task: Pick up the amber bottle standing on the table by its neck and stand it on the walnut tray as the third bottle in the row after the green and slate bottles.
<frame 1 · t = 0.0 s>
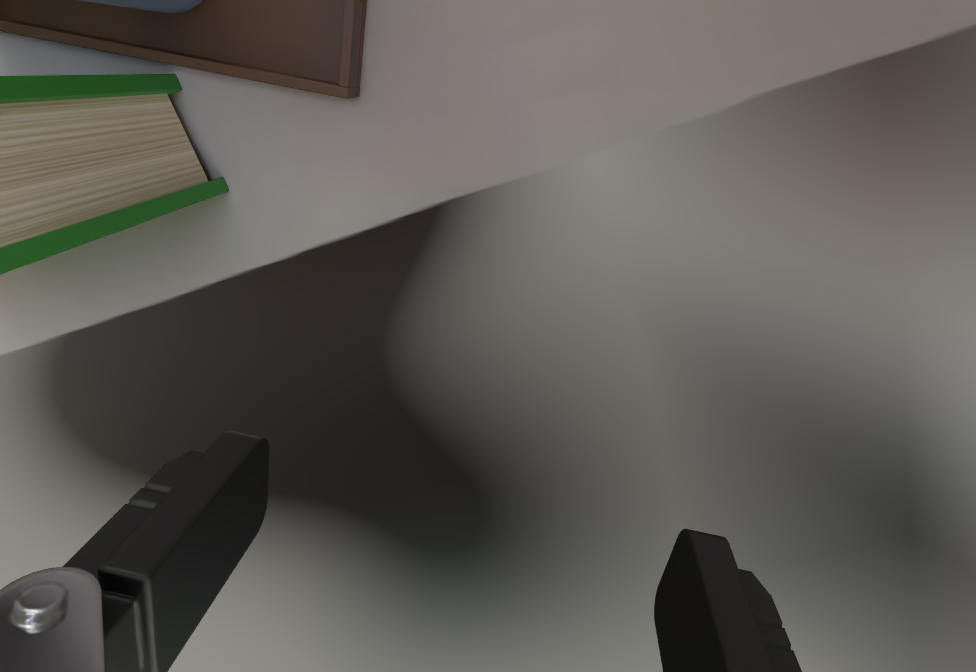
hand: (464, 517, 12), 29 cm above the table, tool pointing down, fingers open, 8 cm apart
hardback book: (93, 174, 41), on the table
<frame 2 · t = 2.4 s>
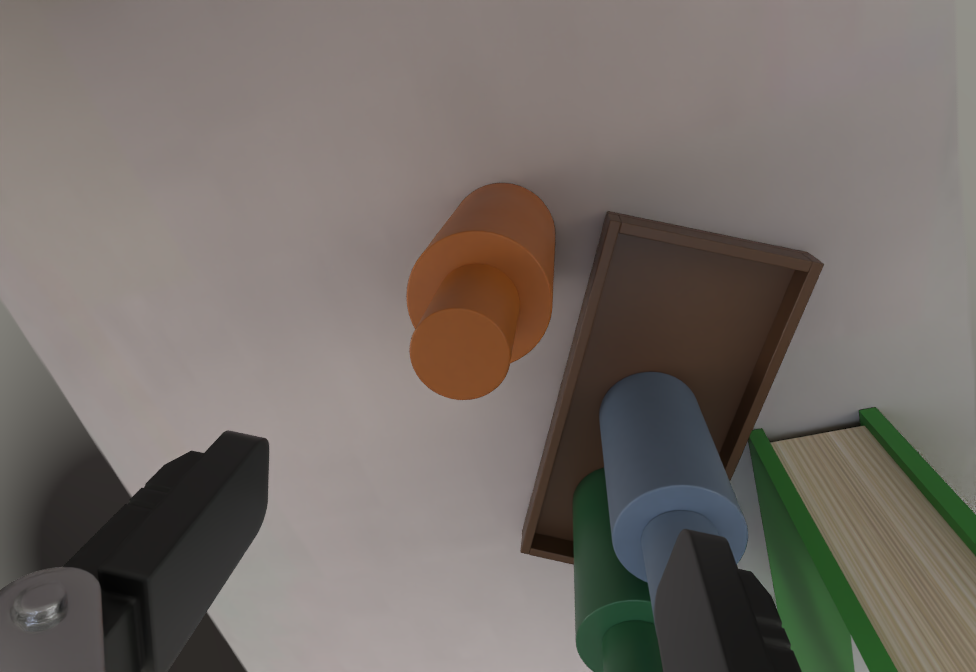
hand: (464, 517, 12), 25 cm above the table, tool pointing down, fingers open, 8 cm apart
green bottle: (617, 502, 40), point 1 cm above the table, touching tray
slate bottle: (648, 414, 38), point 1 cm above the table, touching tray
tray: (646, 409, 38), on the table
hardback book: (822, 529, 40), on the table
amber bottle: (502, 236, 35), on the table
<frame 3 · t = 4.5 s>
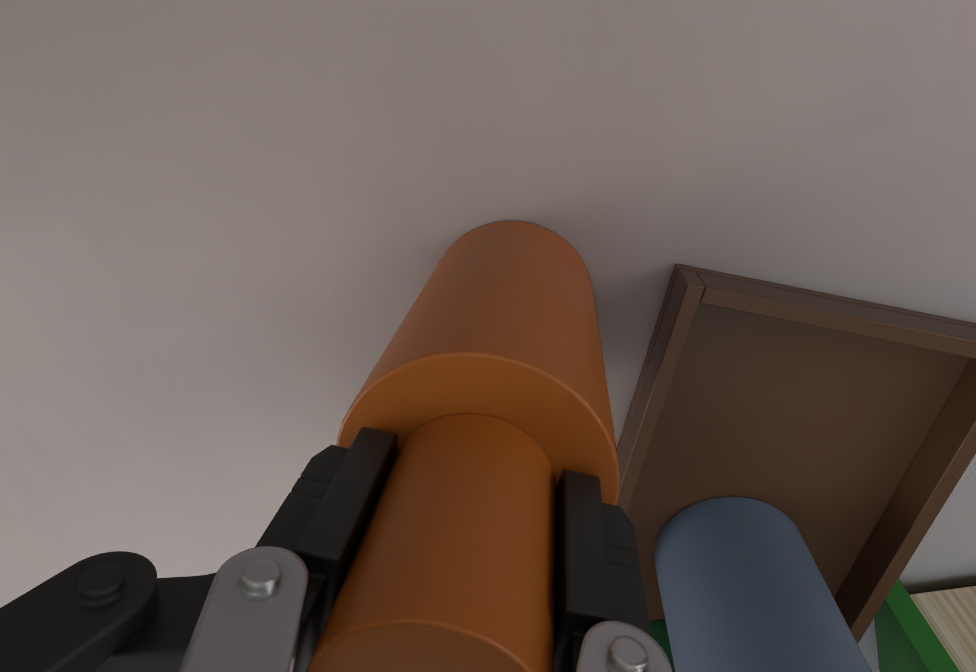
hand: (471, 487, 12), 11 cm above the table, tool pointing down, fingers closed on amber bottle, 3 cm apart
green bottle: (676, 664, 28), point 1 cm above the table, touching tray
slate bottle: (726, 553, 26), point 1 cm above the table, touching tray
tray: (723, 543, 26), on the table
amber bottle: (511, 299, 23), on the table, touching gripper
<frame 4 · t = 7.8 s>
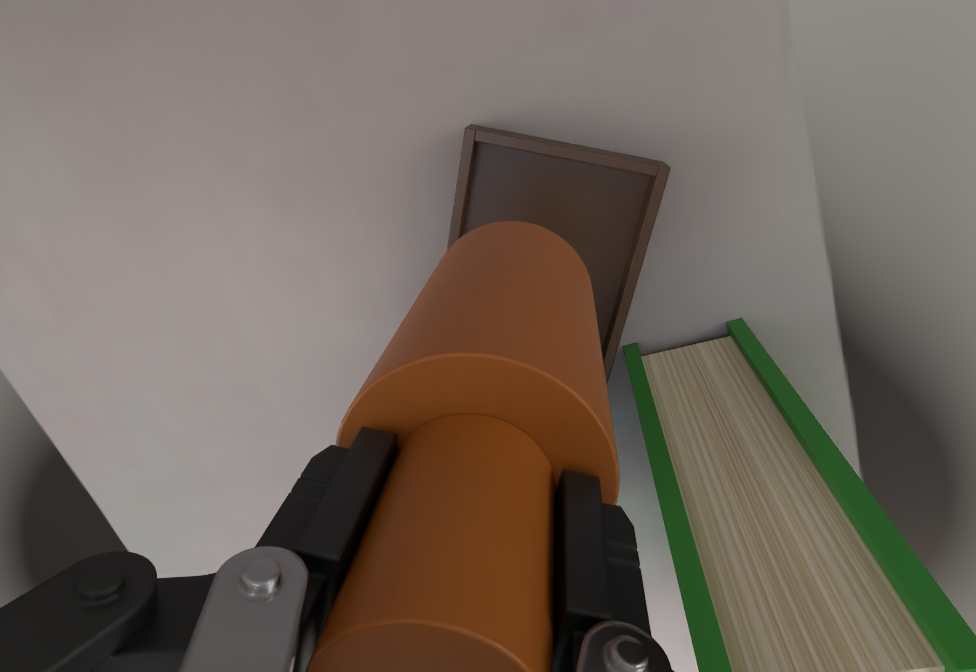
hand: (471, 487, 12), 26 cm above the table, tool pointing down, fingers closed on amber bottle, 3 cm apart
tray: (526, 326, 39), on the table
hardback book: (704, 445, 42), on the table
amber bottle: (511, 299, 23), point 15 cm above the table, touching gripper
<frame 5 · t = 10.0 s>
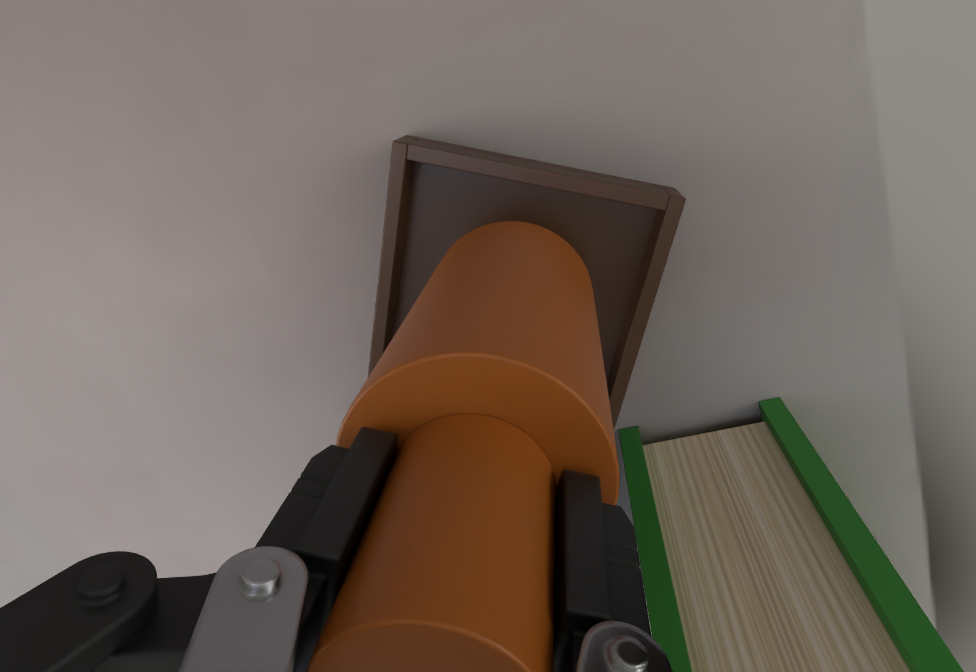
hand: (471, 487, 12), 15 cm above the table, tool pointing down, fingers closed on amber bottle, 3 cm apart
tray: (490, 403, 29), on the table
hardback book: (725, 553, 32), on the table
amber bottle: (511, 300, 23), point 4 cm above the table, touching gripper
when the fingers open (12 cm above the table, at t = 11.4 s): amber bottle stays where it is, resting on tray.
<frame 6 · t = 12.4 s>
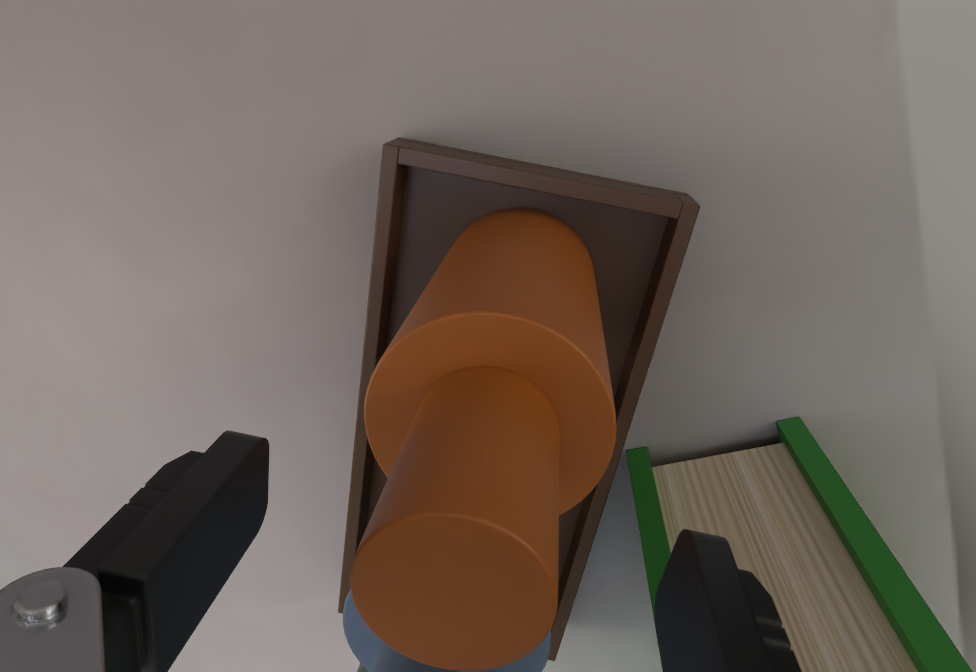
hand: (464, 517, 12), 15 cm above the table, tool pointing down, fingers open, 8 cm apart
slate bottle: (488, 428, 27), point 1 cm above the table, touching tray
tray: (489, 421, 28), on the table
hardback book: (740, 579, 30), on the table
amber bottle: (518, 282, 24), point 1 cm above the table, touching tray
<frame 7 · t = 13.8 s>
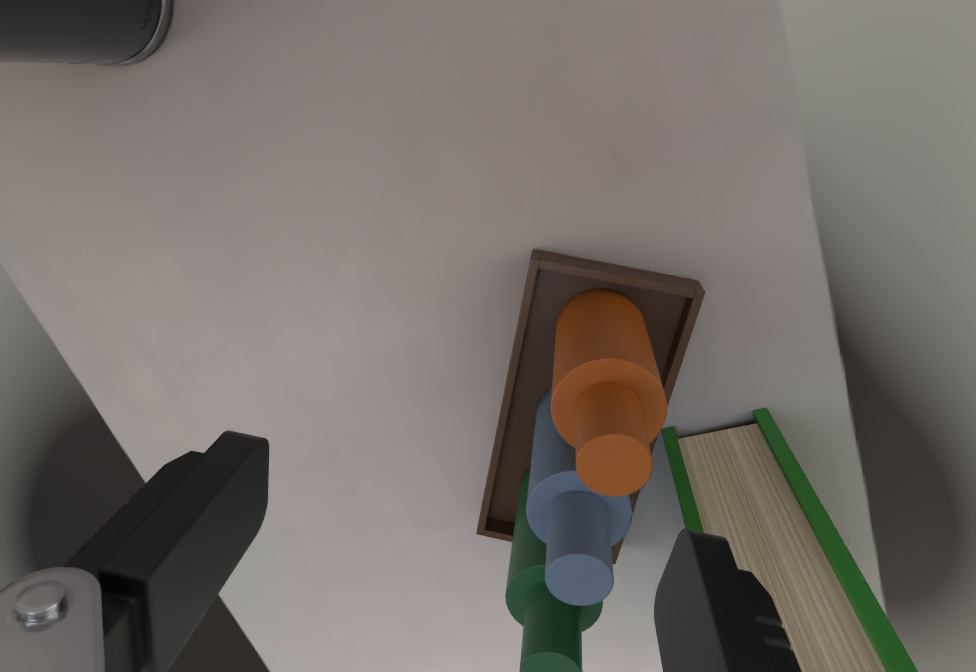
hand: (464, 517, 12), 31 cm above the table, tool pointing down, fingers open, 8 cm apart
green bottle: (557, 490, 48), point 1 cm above the table, touching tray
slate bottle: (577, 415, 45), point 1 cm above the table, touching tray
tray: (577, 411, 45), on the table
hardback book: (733, 512, 47), on the table
amber bottle: (599, 329, 42), point 1 cm above the table, touching tray
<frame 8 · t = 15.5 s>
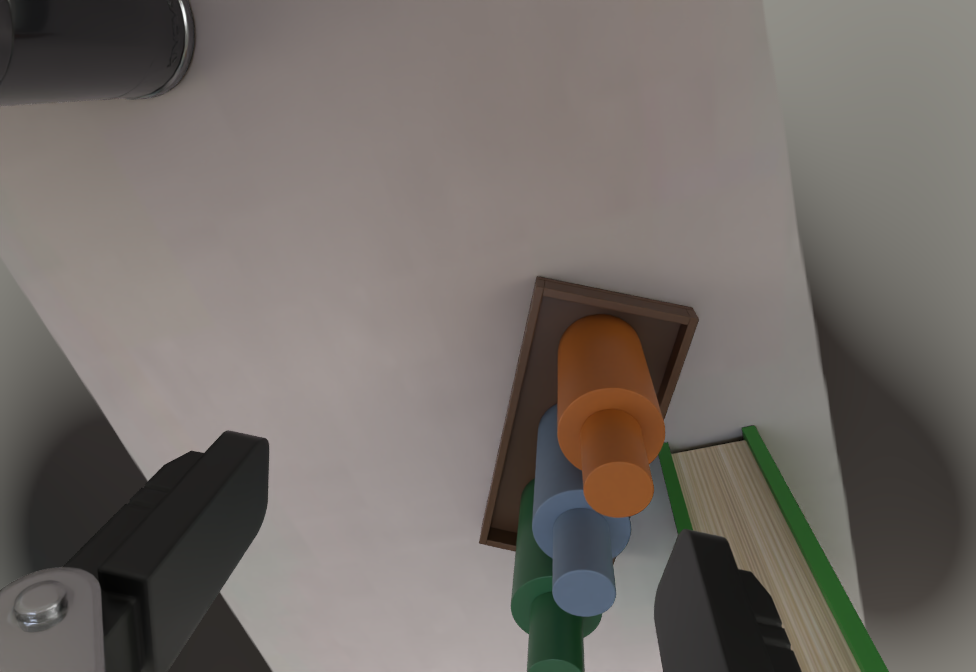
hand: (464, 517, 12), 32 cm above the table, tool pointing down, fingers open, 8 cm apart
green bottle: (556, 502, 50), point 1 cm above the table, touching tray
slate bottle: (576, 432, 47), point 1 cm above the table, touching tray
tray: (576, 427, 48), on the table
hardback book: (722, 522, 50), on the table
amber bottle: (599, 351, 44), point 1 cm above the table, touching tray
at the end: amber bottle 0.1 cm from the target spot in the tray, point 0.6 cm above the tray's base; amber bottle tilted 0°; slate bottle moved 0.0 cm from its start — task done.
